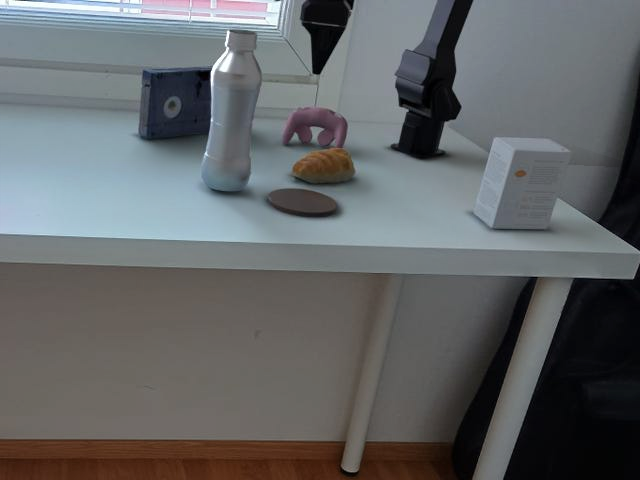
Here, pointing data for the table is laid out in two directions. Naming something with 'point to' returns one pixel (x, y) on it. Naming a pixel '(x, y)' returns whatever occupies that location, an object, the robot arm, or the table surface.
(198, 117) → the vhs cassette tape
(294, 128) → the video game controller
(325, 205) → the walnut coaster
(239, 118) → the plastic bottle
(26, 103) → the table surface
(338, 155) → the pastry
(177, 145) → the table surface
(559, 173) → the small box
